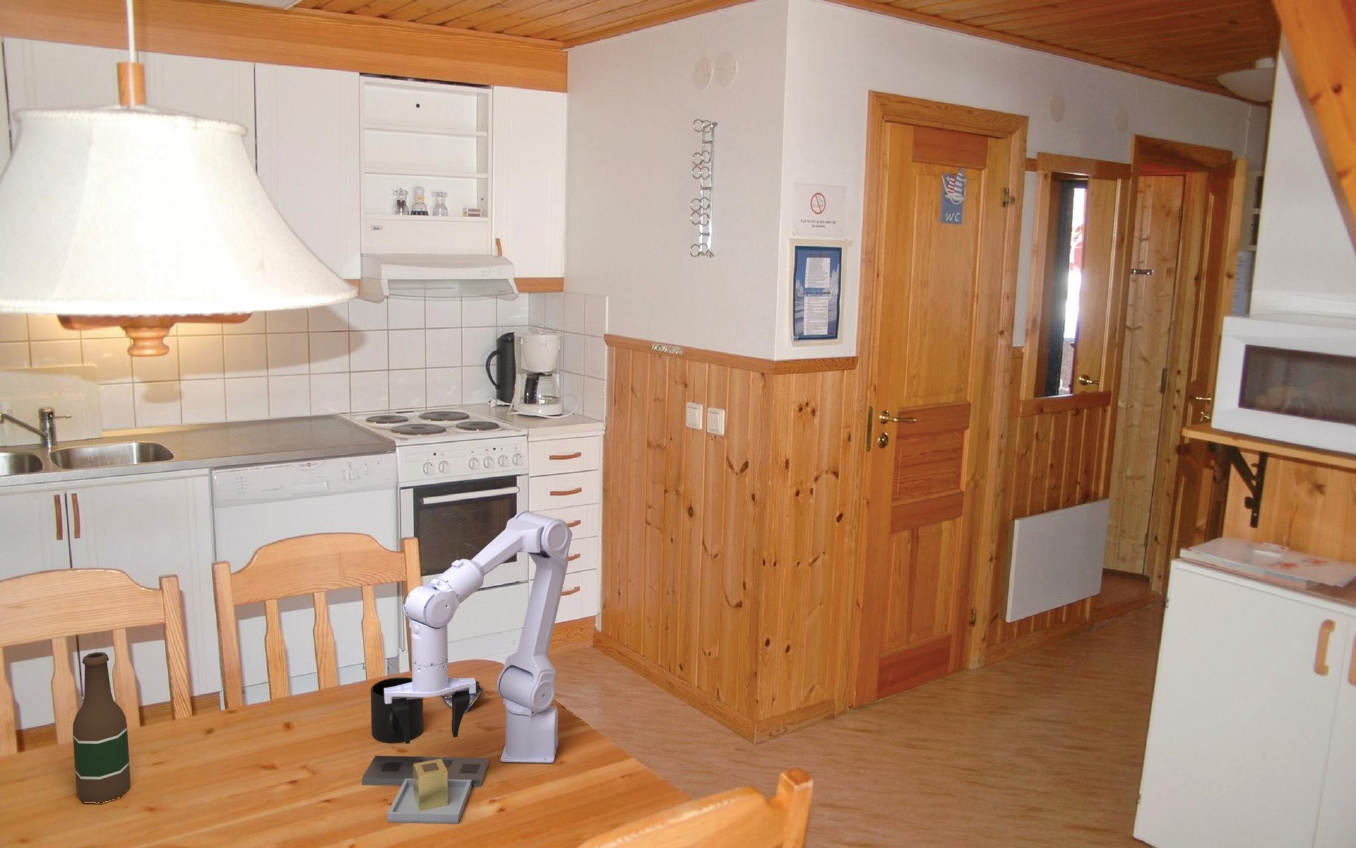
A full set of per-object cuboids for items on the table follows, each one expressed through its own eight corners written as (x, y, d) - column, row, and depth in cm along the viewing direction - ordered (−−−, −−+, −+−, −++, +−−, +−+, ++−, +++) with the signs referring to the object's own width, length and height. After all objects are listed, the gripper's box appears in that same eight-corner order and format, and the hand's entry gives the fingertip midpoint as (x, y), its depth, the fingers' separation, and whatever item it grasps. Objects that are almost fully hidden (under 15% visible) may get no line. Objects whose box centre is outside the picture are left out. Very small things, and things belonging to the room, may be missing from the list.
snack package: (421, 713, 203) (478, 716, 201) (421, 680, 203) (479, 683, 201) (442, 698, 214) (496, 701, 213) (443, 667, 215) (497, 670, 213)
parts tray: (471, 788, 173) (471, 779, 173) (458, 823, 162) (458, 815, 162) (405, 786, 173) (405, 778, 173) (387, 822, 162) (387, 813, 162)
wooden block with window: (441, 792, 171) (441, 758, 170) (447, 805, 167) (447, 770, 166) (413, 797, 169) (413, 763, 168) (419, 811, 165) (418, 776, 164)
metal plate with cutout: (488, 764, 182) (488, 757, 182) (480, 787, 174) (480, 780, 174) (375, 762, 182) (375, 755, 181) (362, 784, 174) (362, 777, 173)
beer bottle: (80, 786, 171) (70, 649, 167) (132, 778, 174) (124, 643, 170) (73, 809, 164) (63, 667, 160) (128, 801, 167) (120, 660, 163)
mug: (364, 751, 186) (363, 704, 184) (376, 721, 197) (375, 677, 196) (417, 749, 187) (417, 702, 185) (426, 720, 198) (425, 676, 197)
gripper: (470, 646, 173) (471, 721, 175) (381, 655, 168) (383, 733, 170) (477, 661, 166) (478, 740, 169) (385, 672, 162) (387, 752, 164)
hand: (431, 738), depth 169 cm, fingers open, 7 cm apart
